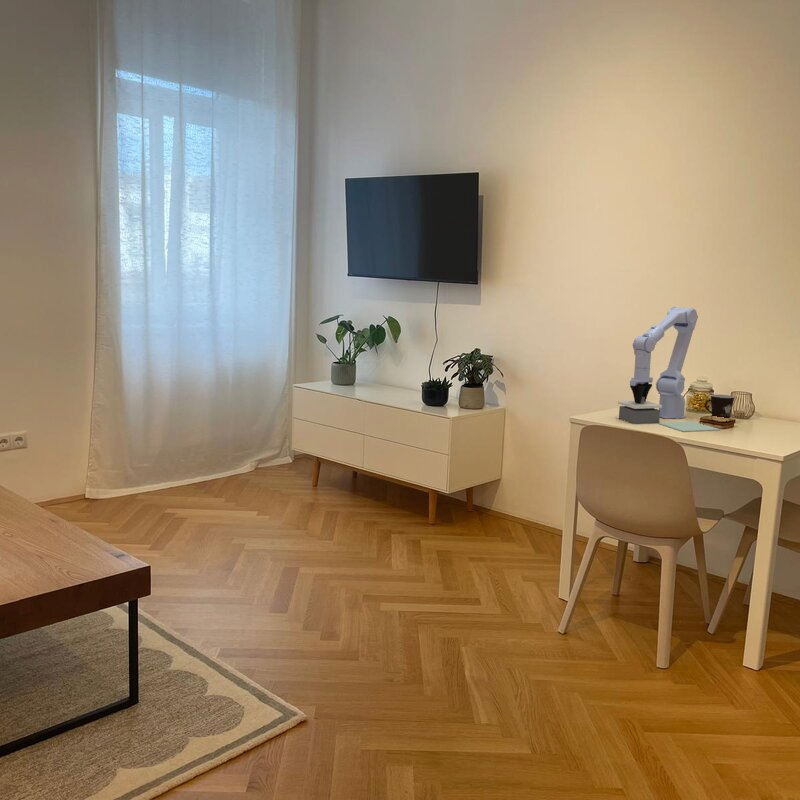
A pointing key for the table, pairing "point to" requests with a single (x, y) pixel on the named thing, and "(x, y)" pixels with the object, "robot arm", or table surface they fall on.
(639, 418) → the box
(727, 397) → the coffee mug
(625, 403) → the lid
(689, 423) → the mat
